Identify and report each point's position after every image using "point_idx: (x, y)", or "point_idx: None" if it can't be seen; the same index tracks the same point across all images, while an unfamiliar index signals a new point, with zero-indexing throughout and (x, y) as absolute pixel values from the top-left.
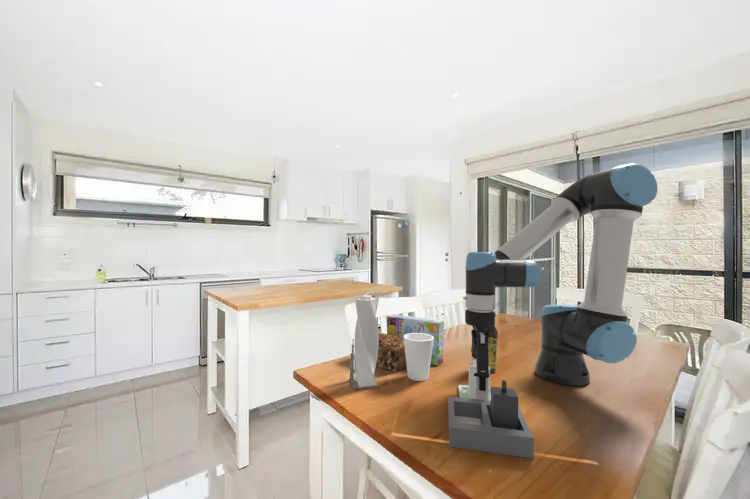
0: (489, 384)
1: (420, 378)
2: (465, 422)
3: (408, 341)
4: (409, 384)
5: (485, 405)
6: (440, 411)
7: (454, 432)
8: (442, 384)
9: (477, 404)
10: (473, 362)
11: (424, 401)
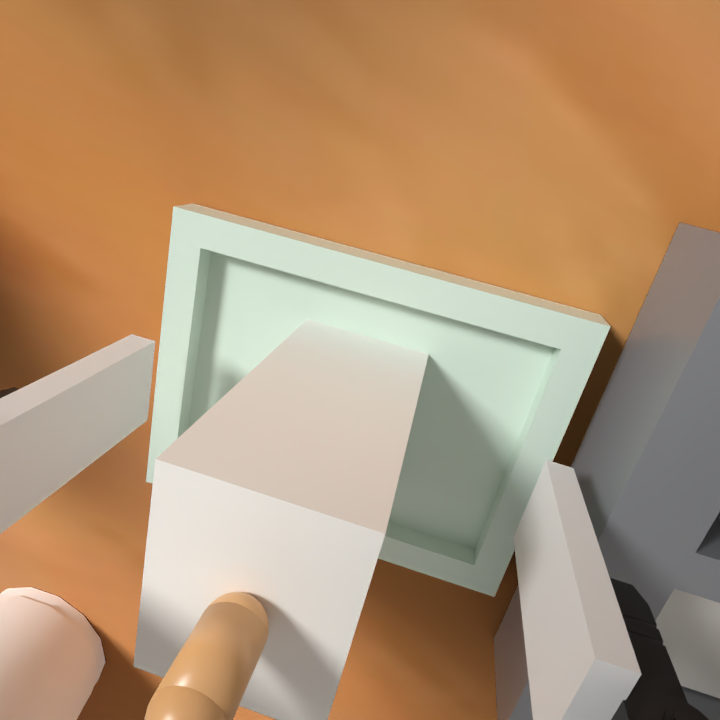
0: (409, 432)
1: (88, 672)
2: (674, 621)
3: None
4: (140, 707)
5: (710, 563)
6: (478, 671)
7: None
8: (106, 535)
9: (661, 604)
10: (6, 511)
11: (352, 705)
